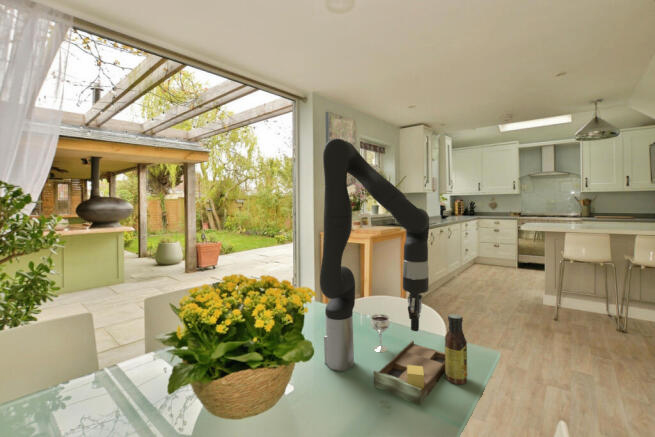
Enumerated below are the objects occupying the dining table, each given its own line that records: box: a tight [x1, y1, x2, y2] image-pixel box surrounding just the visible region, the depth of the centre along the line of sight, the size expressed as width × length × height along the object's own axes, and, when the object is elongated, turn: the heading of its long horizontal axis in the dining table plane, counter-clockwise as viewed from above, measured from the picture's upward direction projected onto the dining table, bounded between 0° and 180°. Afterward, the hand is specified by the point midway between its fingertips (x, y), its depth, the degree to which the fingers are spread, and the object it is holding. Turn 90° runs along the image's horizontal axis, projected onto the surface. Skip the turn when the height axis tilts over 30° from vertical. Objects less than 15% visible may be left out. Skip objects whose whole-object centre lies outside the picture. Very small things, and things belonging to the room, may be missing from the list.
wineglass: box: [370, 313, 390, 353], centre depth 113 cm, size 7×7×12 cm
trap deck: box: [372, 340, 445, 406], centre depth 98 cm, size 14×28×4 cm, turn 141°
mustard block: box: [407, 365, 424, 390], centre depth 88 cm, size 4×4×4 cm
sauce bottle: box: [444, 313, 468, 385], centre depth 93 cm, size 7×6×20 cm
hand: (414, 330), depth 93 cm, fingers closed
